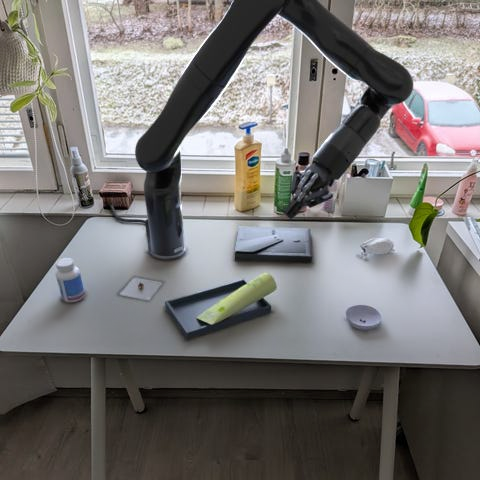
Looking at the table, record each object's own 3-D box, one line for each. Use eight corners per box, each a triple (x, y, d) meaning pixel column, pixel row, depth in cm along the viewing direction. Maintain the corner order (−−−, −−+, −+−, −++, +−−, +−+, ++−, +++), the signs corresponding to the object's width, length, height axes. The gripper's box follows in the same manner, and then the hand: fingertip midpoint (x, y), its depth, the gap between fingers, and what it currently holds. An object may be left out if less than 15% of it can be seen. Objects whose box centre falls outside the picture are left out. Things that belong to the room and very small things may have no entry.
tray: (244, 284, 126) (244, 278, 125) (271, 312, 117) (271, 305, 116) (165, 307, 118) (164, 301, 117) (187, 339, 109) (186, 333, 108)
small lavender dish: (351, 307, 119) (353, 301, 118) (384, 318, 116) (386, 311, 114) (339, 325, 113) (340, 319, 112) (373, 337, 110) (375, 330, 109)
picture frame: (234, 260, 135) (311, 263, 134) (234, 251, 134) (312, 254, 133) (238, 232, 148) (309, 235, 147) (238, 223, 146) (310, 226, 145)
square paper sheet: (162, 282, 127) (162, 276, 126) (148, 300, 121) (147, 294, 120) (134, 277, 129) (133, 271, 127) (119, 294, 123) (117, 288, 121)
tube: (267, 266, 116) (197, 307, 109) (280, 283, 115) (211, 325, 108) (262, 278, 122) (195, 317, 115) (274, 294, 120) (208, 335, 113)
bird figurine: (372, 268, 135) (398, 249, 138) (368, 246, 131) (395, 228, 134) (359, 263, 139) (384, 245, 142) (355, 242, 135) (381, 224, 138)
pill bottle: (89, 292, 123) (81, 258, 117) (77, 304, 119) (68, 270, 113) (70, 288, 125) (61, 254, 119) (57, 300, 121) (47, 265, 115)
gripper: (312, 132, 110) (261, 196, 113) (349, 151, 101) (293, 219, 104) (329, 152, 115) (280, 212, 118) (366, 172, 106) (312, 237, 109)
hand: (286, 216), depth 111 cm, fingers closed
